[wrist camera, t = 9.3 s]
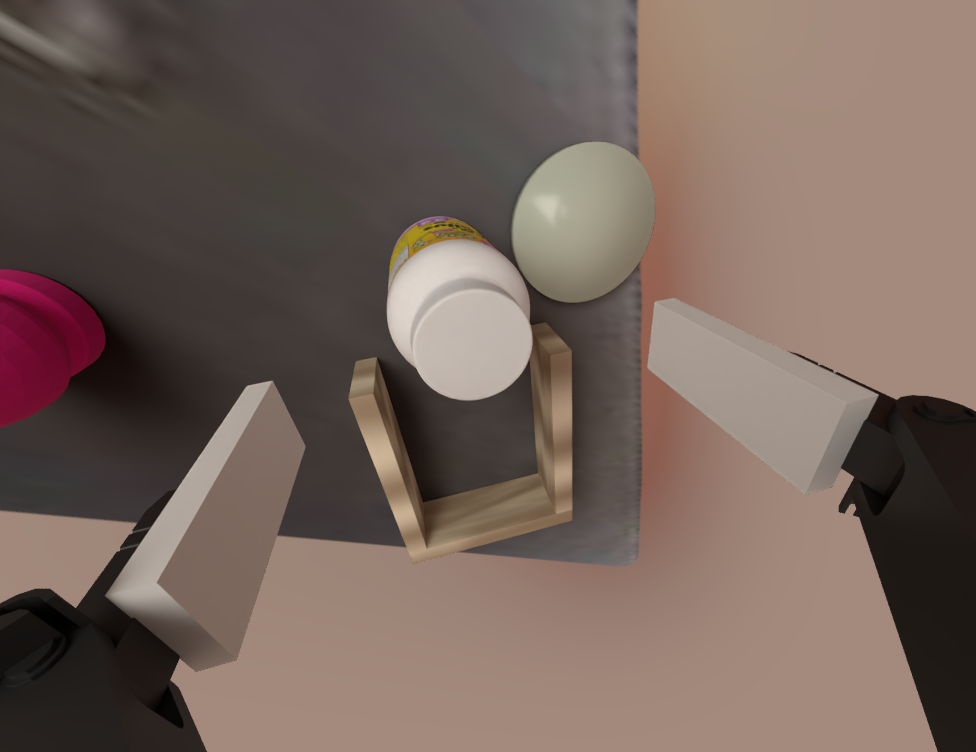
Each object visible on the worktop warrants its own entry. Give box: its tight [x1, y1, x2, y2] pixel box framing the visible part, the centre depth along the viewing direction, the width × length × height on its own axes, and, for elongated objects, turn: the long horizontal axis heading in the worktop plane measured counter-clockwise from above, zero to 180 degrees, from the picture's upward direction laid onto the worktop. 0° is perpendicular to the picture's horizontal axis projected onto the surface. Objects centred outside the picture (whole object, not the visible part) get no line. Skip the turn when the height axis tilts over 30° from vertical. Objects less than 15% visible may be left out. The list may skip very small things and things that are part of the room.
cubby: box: [349, 322, 572, 564], centre depth 30 cm, size 18×14×5 cm
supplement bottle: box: [387, 216, 533, 400], centre depth 19 cm, size 7×7×13 cm
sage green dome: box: [510, 142, 656, 303], centre depth 25 cm, size 10×10×1 cm
